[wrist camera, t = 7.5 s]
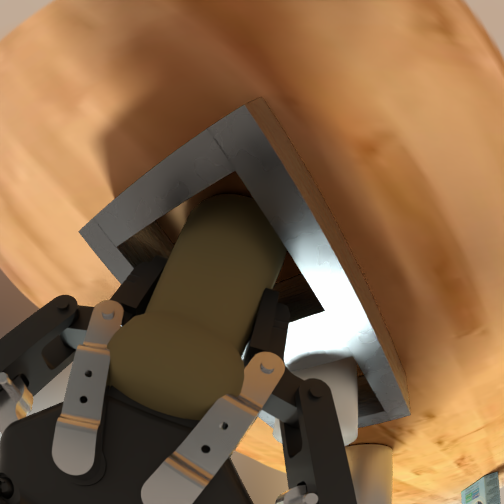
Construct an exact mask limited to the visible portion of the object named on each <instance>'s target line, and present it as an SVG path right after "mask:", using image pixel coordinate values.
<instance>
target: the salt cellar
mask: <svg viewBox="0 0 504 504" xmlns="http://www.w3.org/2000/svg"><path fill="white" fill-rule="evenodd" d="M291 373H292V374H294V375H295V376H297V377H299V378H301V379H303V380H306V379H309V378H316V379H320V380H322V381H324V382H325V383H326V384H327V385H328V386H329V387H330V389H331V392H332V396H333V400H334V404H335V408H336V412H337V416H338V420H339V424H340V428H341V433H342V437H343V441H344V445H345V446H346V445H348V444H350V443H352V442H353V441H354V440H355V439H356V438H357V436H358V383H357V362H356V360H355V359H354V357H353V356H351V357H348V358H344V359H341V360H337V361H333V362H330V363H326V364H322V365H318V366H314V367H310V368H306V369H302V370H298V371H293V372H291ZM273 436H274V438H275V439H276V440H277V441H279V442H280V443H282V437H281V430H280V423H279V419H277V418H275V423H274V429H273Z"/></svg>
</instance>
